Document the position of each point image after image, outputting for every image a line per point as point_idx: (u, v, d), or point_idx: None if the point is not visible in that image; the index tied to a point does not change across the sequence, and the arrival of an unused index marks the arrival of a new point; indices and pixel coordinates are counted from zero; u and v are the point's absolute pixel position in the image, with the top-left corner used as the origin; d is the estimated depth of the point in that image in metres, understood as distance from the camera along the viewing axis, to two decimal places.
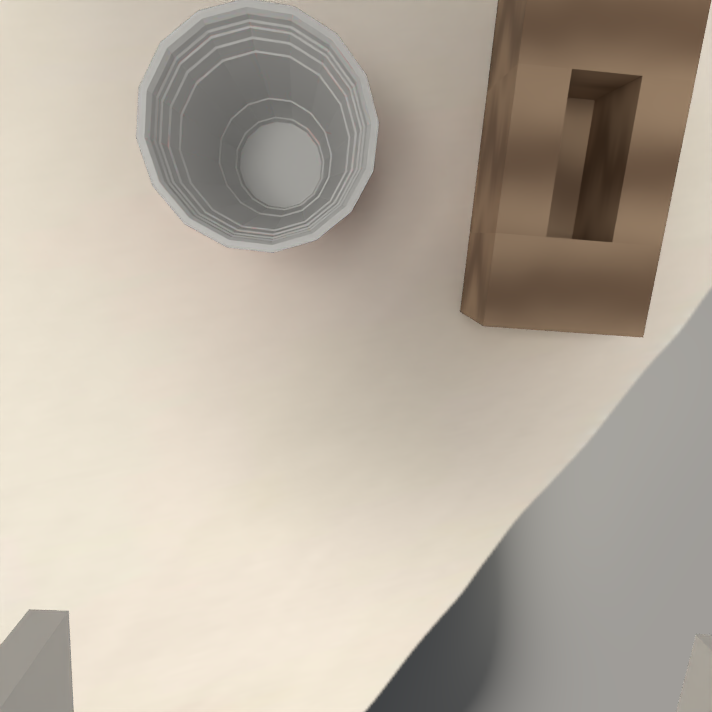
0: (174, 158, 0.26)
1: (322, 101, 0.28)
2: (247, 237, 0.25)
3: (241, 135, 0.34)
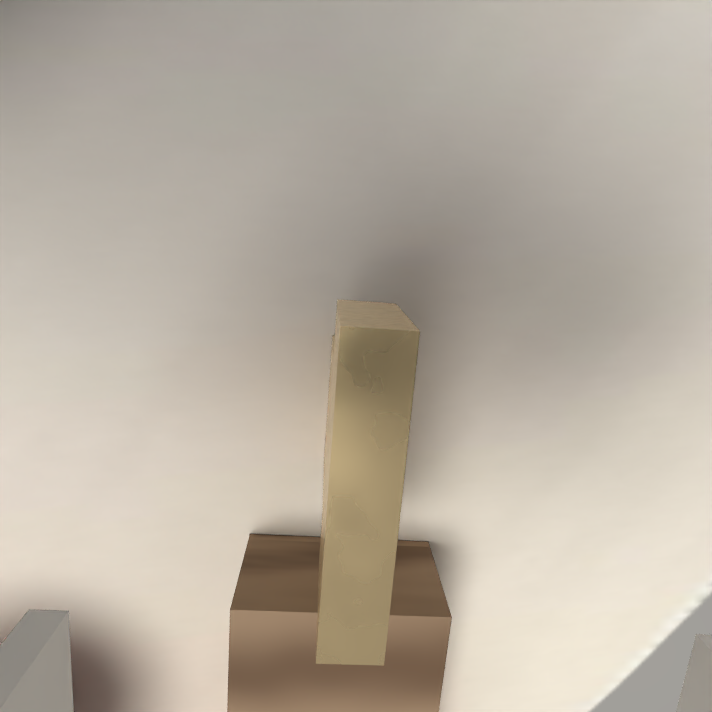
0: None
1: None
2: None
3: None
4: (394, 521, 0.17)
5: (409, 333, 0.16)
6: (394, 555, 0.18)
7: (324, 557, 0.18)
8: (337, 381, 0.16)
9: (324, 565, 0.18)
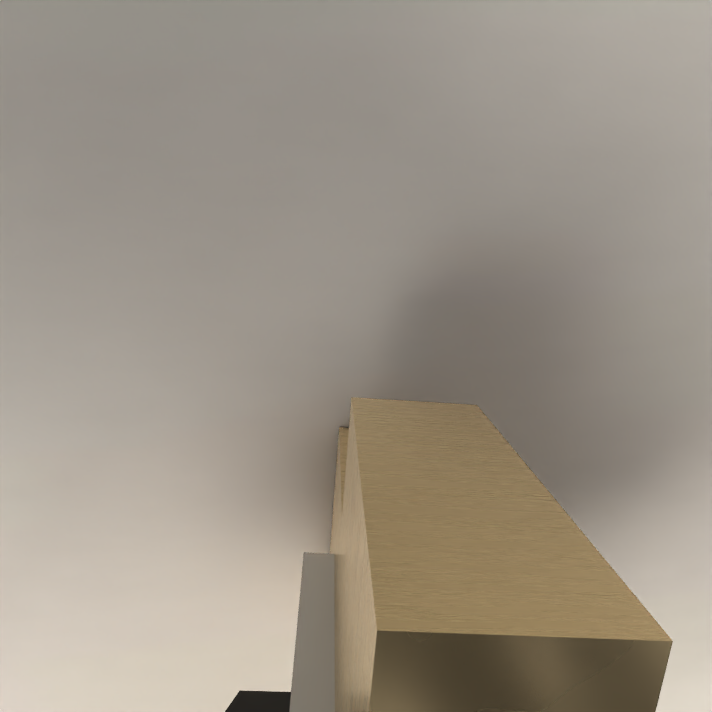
0: None
1: None
2: None
3: None
4: None
5: (634, 651, 0.04)
6: None
7: None
8: None
9: None
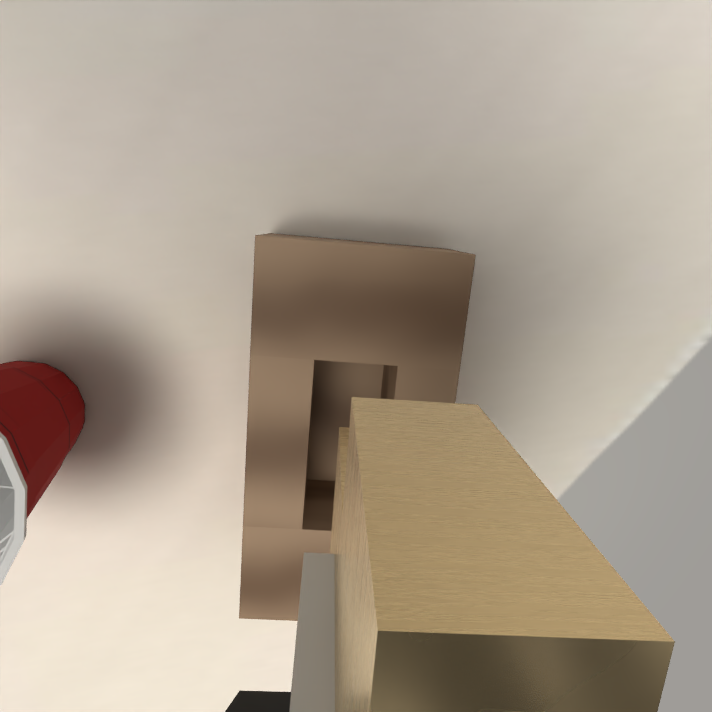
0: None
1: None
2: None
3: None
4: None
5: (637, 651, 0.04)
6: None
7: None
8: None
9: None
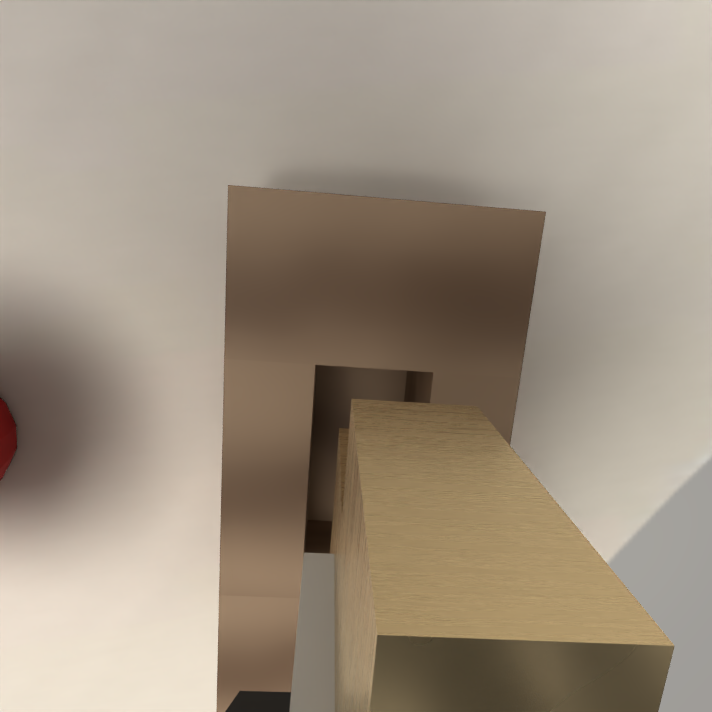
0: None
1: None
2: None
3: None
4: None
5: (636, 655, 0.04)
6: None
7: None
8: None
9: None
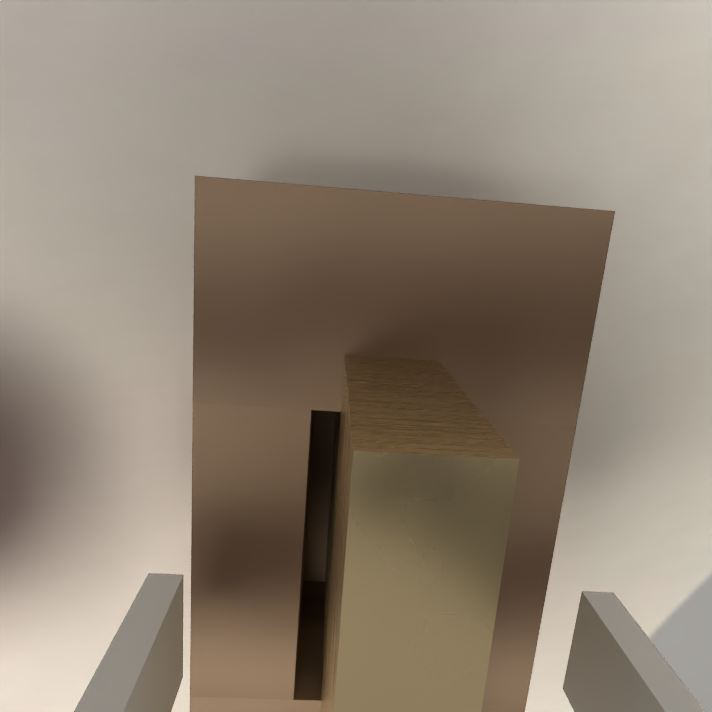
0: None
1: None
2: None
3: None
4: None
5: (497, 464, 0.08)
6: None
7: None
8: (347, 558, 0.08)
9: None
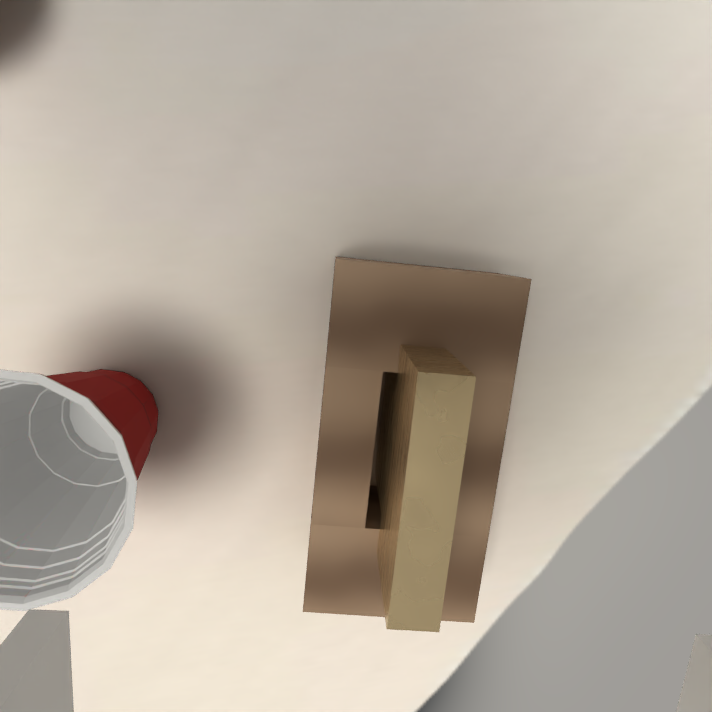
0: None
1: None
2: (3, 586, 0.24)
3: None
4: (451, 518, 0.23)
5: (468, 378, 0.22)
6: (450, 544, 0.23)
7: (397, 545, 0.23)
8: (414, 412, 0.22)
9: (397, 551, 0.23)
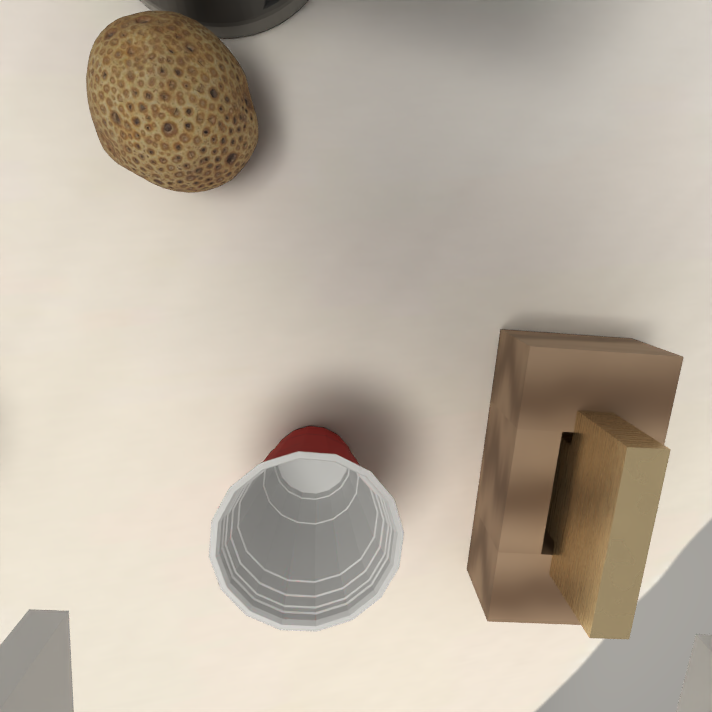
0: (235, 544, 0.31)
1: None
2: (295, 612, 0.31)
3: None
4: (644, 554, 0.30)
5: (664, 450, 0.29)
6: (642, 573, 0.30)
7: (602, 574, 0.30)
8: (621, 476, 0.29)
9: (602, 579, 0.30)
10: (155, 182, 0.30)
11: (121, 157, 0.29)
